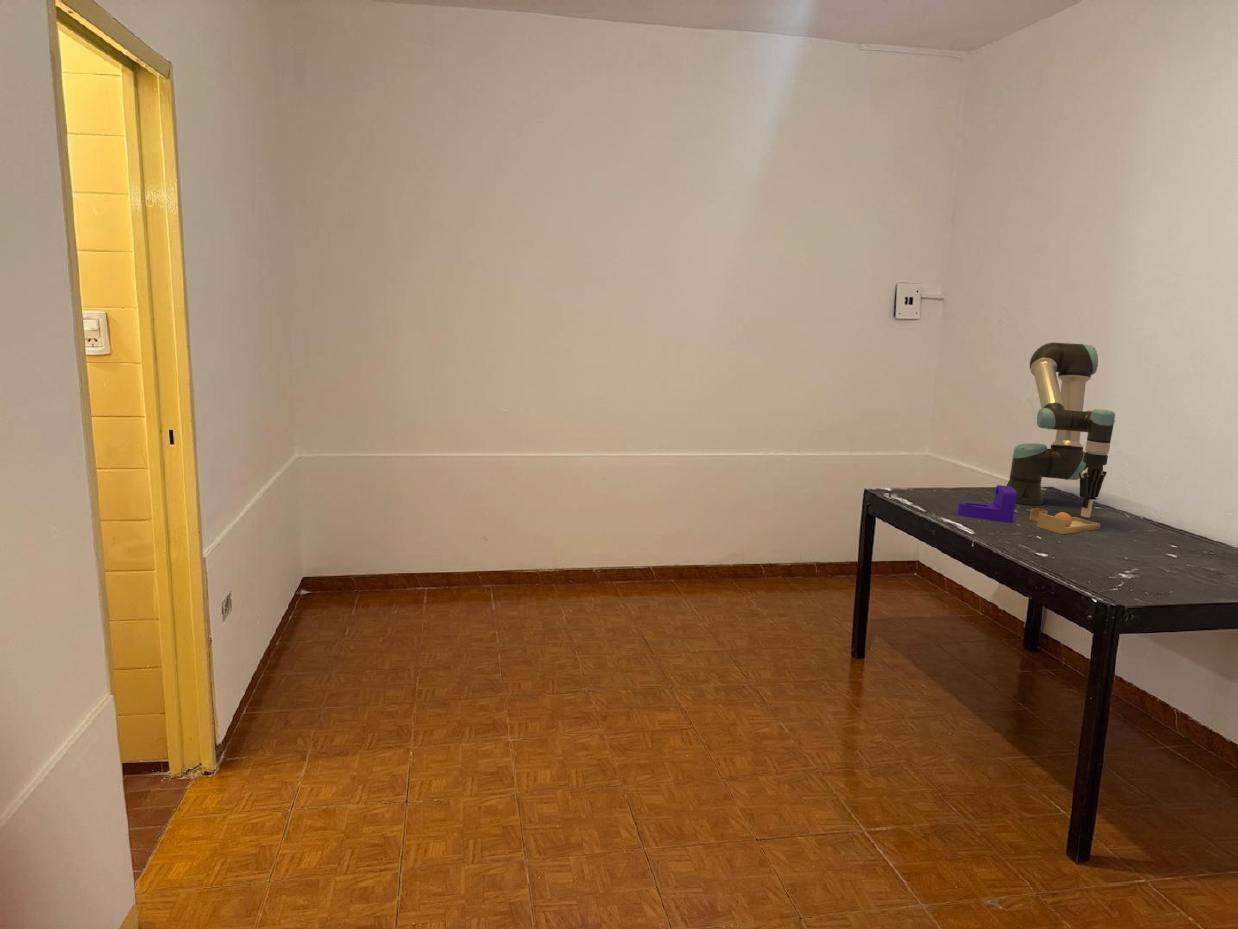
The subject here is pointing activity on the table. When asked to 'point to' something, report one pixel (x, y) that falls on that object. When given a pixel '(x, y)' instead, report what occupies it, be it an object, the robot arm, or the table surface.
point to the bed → (1060, 524)
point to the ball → (1066, 517)
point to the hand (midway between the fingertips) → (1085, 516)
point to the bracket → (992, 506)
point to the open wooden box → (1036, 513)
